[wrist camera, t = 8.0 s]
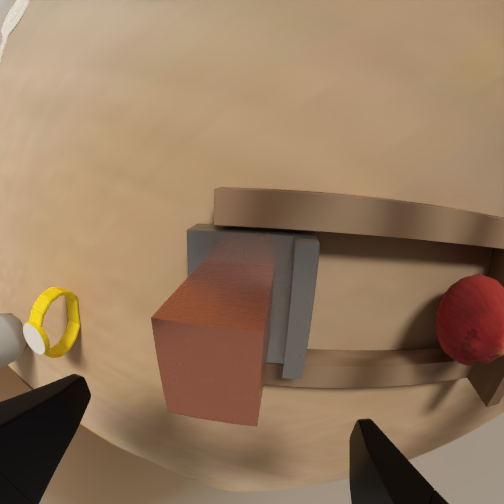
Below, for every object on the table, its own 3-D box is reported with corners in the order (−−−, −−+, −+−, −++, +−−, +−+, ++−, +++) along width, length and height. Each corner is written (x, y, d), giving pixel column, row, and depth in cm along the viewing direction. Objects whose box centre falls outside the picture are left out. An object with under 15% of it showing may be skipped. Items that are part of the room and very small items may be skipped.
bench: (510, 219, 15) (560, 237, 9) (469, 362, 19) (498, 403, 13) (222, 187, 17) (190, 195, 12) (222, 362, 21) (203, 418, 15)
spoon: (-22, 121, 18) (-26, 122, 18) (17, -2, 13) (15, -3, 13) (-5, 116, 18) (-8, 116, 18) (41, -17, 13) (38, -18, 12)
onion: (447, 341, 18) (491, 404, 11) (405, 311, 18) (452, 380, 10) (489, 284, 17) (549, 330, 9) (451, 245, 16) (522, 286, 9)
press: (313, 230, 17) (337, 288, 8) (300, 347, 19) (302, 449, 11) (197, 223, 18) (121, 270, 9) (201, 338, 20) (154, 428, 12)
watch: (62, 276, 21) (17, 297, 16) (85, 284, 21) (38, 309, 15) (66, 333, 23) (28, 360, 17) (87, 343, 23) (49, 374, 17)
